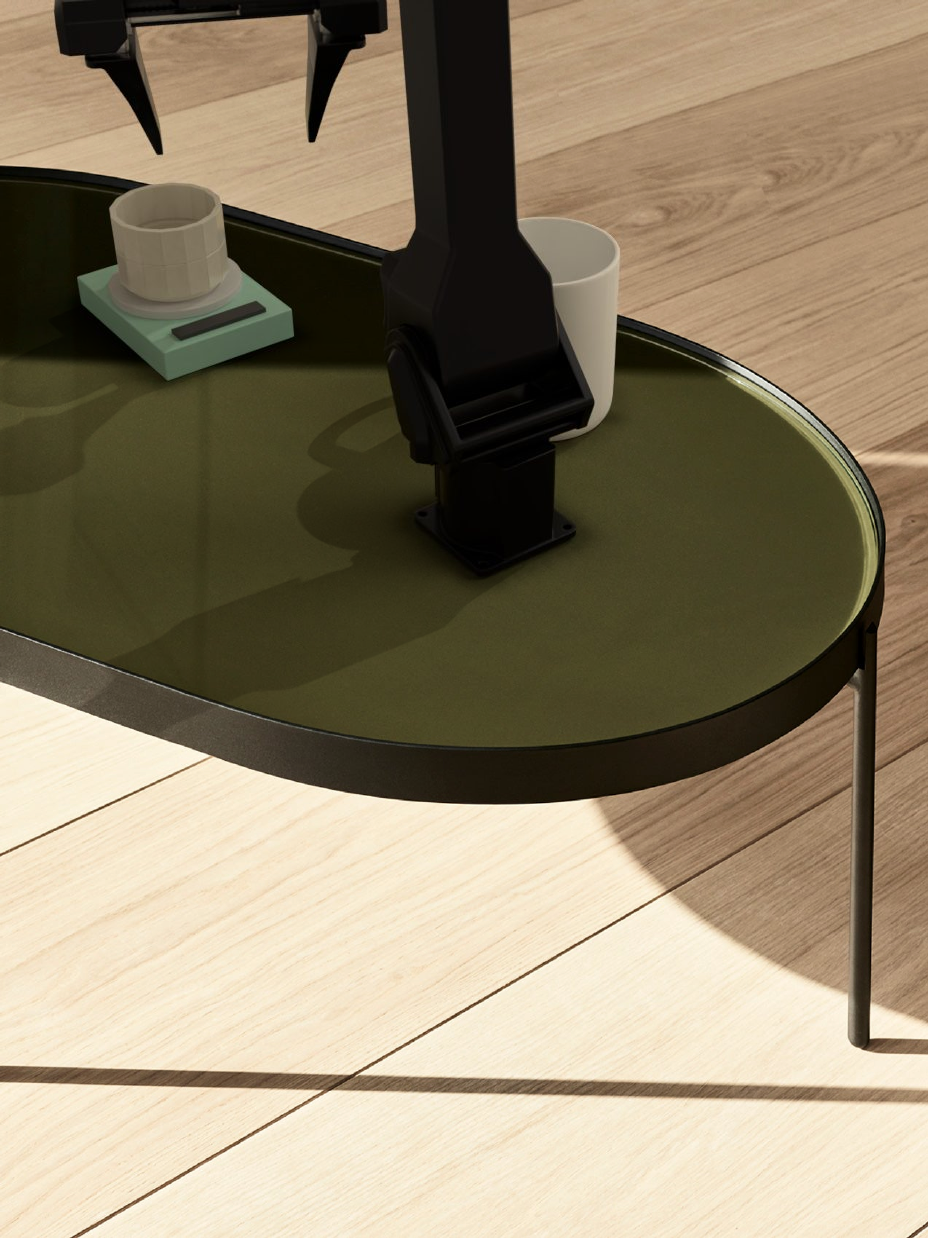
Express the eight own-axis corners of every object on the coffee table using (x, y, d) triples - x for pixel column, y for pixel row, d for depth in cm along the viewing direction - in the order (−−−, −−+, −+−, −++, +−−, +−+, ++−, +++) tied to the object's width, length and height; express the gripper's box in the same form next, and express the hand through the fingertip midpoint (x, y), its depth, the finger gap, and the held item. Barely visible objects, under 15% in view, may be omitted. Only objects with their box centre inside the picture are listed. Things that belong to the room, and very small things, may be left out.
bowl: (248, 284, 106) (241, 211, 103) (152, 316, 103) (141, 242, 100) (196, 244, 110) (188, 173, 107) (102, 274, 107) (90, 201, 104)
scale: (294, 336, 106) (291, 300, 104) (167, 381, 102) (162, 343, 100) (202, 265, 114) (198, 229, 112) (81, 303, 110) (74, 267, 108)
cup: (559, 461, 95) (564, 300, 88) (394, 394, 101) (387, 239, 94) (639, 397, 100) (648, 241, 93) (477, 338, 106) (476, 186, 99)
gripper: (358, -172, 100) (371, 84, 110) (39, -153, 98) (82, 107, 107) (383, -119, 91) (394, 154, 101) (34, -97, 89) (80, 180, 99)
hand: (236, 146), depth 102 cm, fingers open, 9 cm apart
